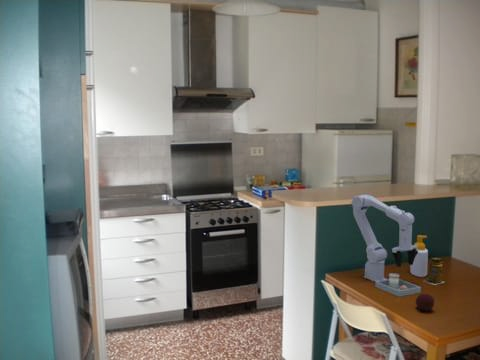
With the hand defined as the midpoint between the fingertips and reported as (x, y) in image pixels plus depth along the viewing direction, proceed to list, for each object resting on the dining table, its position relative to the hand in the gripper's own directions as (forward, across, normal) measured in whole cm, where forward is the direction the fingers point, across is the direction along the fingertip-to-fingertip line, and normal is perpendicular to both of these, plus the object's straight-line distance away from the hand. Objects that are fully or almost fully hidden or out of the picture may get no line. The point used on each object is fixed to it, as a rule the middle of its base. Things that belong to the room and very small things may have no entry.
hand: (404, 265), depth 240 cm
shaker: (+10, -7, -1) cm, 12 cm away
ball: (+10, -7, -8) cm, 15 cm away
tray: (+10, -7, -4) cm, 13 cm away
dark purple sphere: (+11, -15, -28) cm, 33 cm away
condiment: (+11, +18, -1) cm, 21 cm away
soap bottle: (+10, +22, +13) cm, 28 cm away
